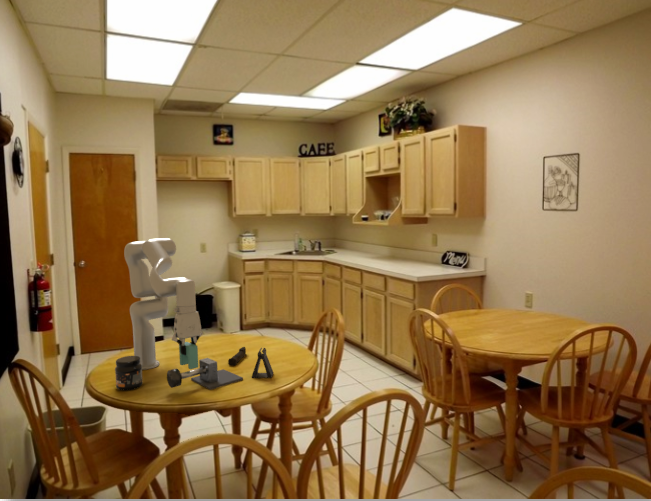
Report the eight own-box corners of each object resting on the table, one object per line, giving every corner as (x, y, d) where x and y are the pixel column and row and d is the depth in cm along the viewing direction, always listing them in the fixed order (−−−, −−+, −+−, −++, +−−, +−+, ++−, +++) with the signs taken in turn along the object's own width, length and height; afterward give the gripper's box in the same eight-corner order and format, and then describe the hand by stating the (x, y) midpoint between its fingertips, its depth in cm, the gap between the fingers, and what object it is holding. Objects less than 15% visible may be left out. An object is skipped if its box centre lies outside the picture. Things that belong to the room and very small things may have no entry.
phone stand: (251, 378, 205) (250, 351, 204) (253, 373, 211) (253, 347, 210) (271, 378, 205) (271, 351, 204) (273, 373, 211) (273, 347, 210)
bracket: (199, 379, 202) (199, 359, 202) (208, 376, 205) (207, 357, 205) (209, 383, 197) (208, 364, 196) (217, 381, 199) (217, 361, 199)
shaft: (167, 385, 192) (166, 368, 191) (208, 373, 205) (208, 358, 204) (175, 389, 187) (174, 372, 186) (217, 377, 200) (216, 361, 199)
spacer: (179, 364, 196) (178, 343, 195) (187, 362, 198) (186, 341, 198) (190, 369, 189) (189, 347, 189) (198, 367, 192) (197, 345, 191)
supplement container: (111, 387, 197) (110, 359, 196) (135, 380, 205) (134, 353, 204) (123, 393, 190) (121, 364, 189) (147, 386, 198) (146, 358, 197)
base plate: (191, 380, 204) (191, 378, 204) (223, 371, 215) (223, 369, 215) (210, 389, 193) (210, 387, 192) (243, 379, 204) (242, 377, 203)
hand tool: (235, 366, 222) (235, 357, 222) (228, 366, 223) (227, 356, 222) (250, 354, 240) (250, 346, 240) (243, 354, 241) (242, 345, 241)
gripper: (171, 314, 184) (173, 359, 185) (209, 307, 195) (210, 350, 196) (163, 311, 189) (165, 356, 191) (200, 305, 201) (202, 347, 202)
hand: (188, 353), depth 193 cm, fingers closed on spacer, 3 cm apart
